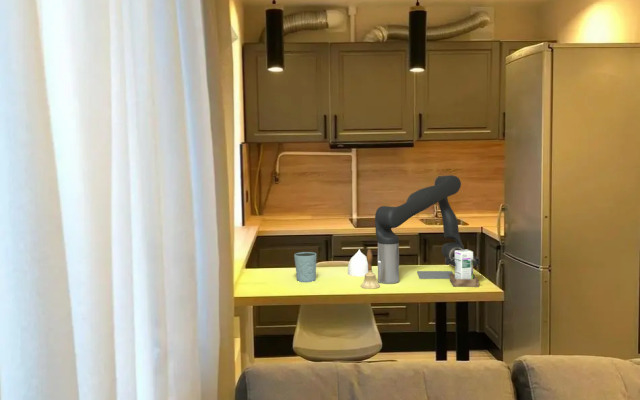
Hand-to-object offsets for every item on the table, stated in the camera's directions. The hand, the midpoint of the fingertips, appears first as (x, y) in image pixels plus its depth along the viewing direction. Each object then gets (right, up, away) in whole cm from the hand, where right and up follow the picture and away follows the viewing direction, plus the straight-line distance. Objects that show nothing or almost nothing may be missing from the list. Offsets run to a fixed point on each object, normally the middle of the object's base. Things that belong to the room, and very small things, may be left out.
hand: (464, 264), depth 235 cm
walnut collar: (0, -9, +3) cm, 9 cm away
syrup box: (0, -9, +3) cm, 9 cm away
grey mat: (-8, -7, +18) cm, 22 cm away
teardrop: (-43, -8, +26) cm, 50 cm away
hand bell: (-40, -10, +1) cm, 41 cm away
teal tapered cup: (-68, -9, +15) cm, 70 cm away
